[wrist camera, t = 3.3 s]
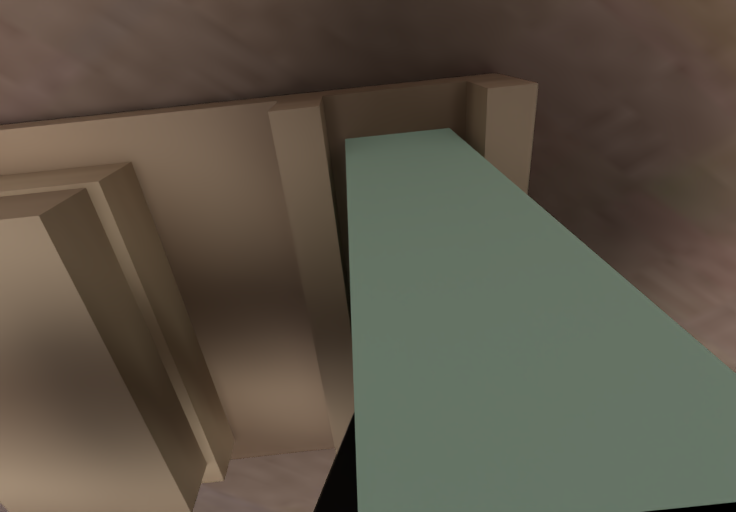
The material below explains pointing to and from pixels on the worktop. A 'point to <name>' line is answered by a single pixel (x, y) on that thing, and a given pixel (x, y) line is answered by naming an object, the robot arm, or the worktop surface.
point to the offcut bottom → (148, 292)
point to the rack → (274, 225)
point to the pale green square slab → (514, 354)
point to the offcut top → (82, 373)
